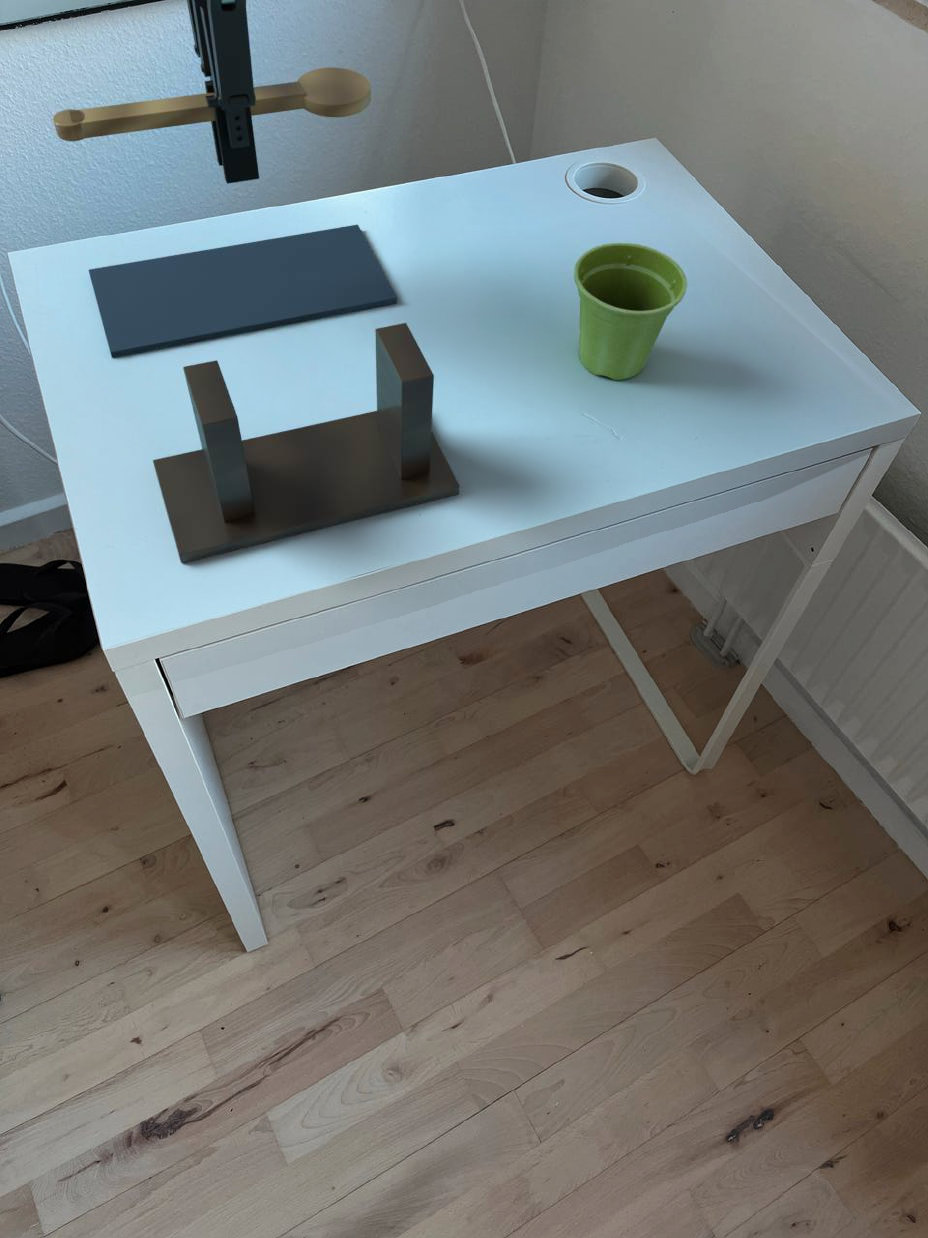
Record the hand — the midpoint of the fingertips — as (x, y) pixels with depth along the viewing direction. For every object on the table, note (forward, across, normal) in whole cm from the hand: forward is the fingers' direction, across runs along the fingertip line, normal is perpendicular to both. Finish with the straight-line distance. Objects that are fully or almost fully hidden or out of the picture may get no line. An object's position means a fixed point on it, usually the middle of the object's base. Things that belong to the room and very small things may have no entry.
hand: (238, 169), depth 78 cm
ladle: (-5, 0, +1) cm, 5 cm away
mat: (+11, 0, +1) cm, 12 cm away
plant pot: (+12, -19, -28) cm, 36 cm away
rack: (+11, -25, +2) cm, 28 cm away
